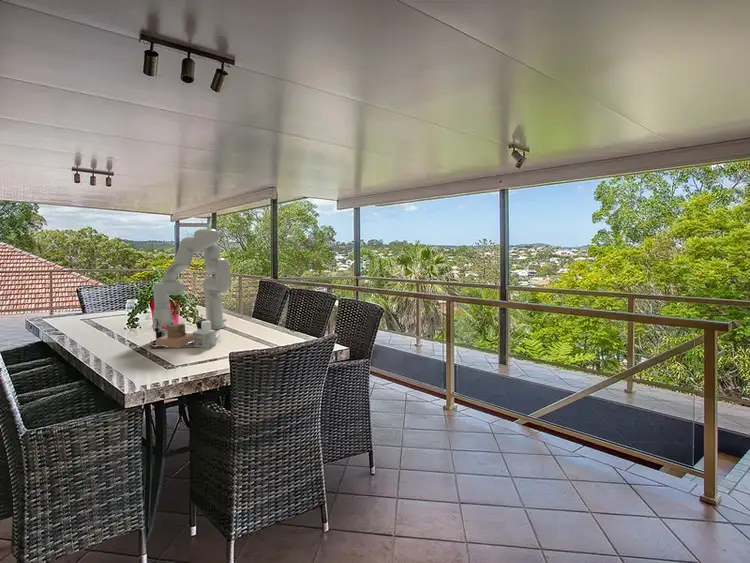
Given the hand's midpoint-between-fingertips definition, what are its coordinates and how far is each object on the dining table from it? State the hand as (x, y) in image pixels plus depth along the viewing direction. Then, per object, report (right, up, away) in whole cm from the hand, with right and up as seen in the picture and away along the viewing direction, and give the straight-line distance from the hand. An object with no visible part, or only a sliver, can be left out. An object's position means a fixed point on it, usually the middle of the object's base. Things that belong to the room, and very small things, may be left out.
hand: (164, 337), depth 241 cm
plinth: (+13, -2, -12) cm, 18 cm away
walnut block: (+12, +2, -12) cm, 18 cm away
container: (+29, -3, -17) cm, 33 cm away
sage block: (0, -1, 0) cm, 1 cm away
